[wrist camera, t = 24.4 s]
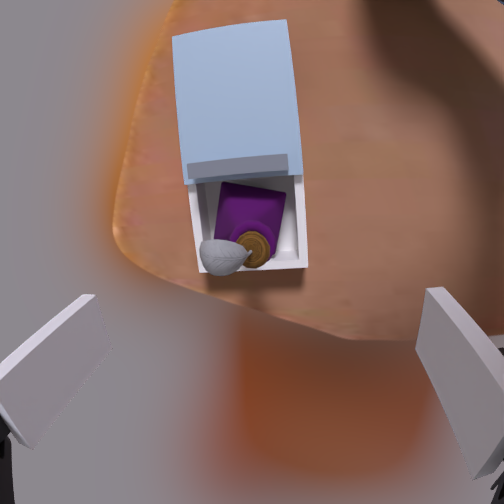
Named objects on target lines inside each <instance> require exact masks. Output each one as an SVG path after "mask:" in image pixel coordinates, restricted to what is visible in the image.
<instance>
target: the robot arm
mask: <svg viewBox="0 0 504 504" xmlns="http://www.w3.org/2000/svg"><path fill="white" fill-rule="evenodd" d="M497 1H499V2H500V3H501V4H503V5H504V0H497ZM111 350H112V346H111V343H110V340H109V337H108V333H107V330H106V327H105V324H104V320H103V317H102V314H101V311H100V307H99V303H98V300H97V296H96V295H88V294H83V295H82V296H80V297H79V298H78V299H76V300H75V301H74V302H73V303H71V304H70V305H69V306H68V307H66V308H65V309H64V310H63V311H61V312H60V313H59V314H58V315H56V316H55V317H54V318H53V319H51V320H50V321H49V322H48V323H47V324H46V325H44V326H43V327H42V328H41V329H39V331H37V332H36V333H35V334H33V335H32V336H31V337H30V338H29V339H28V340H26V341H25V342H24V343H23V344H22V345H21V346H19V347H18V348H17V349H16V350H15V351H14V352H13V353H11V354H10V355H9V356H8V357H7V358H6V359H5V360H4V361H2V362H1V363H0V504H15V502H14V491H13V478H12V459H11V458H12V457H11V456H12V455H11V441H10V439H9V438H8V436H7V435H8V434H9V433H10V432H11V433H12V434H13V435H14V437H15V438H16V439H17V441H18V442H19V443H20V444H22V445H24V446H26V447H28V448H30V449H32V450H33V449H34V448H35V446H36V445H37V444H38V442H39V441H40V440H41V438H42V437H43V436H44V434H45V433H46V432H47V430H48V429H49V428H50V427H51V425H52V424H53V423H54V421H55V420H56V419H57V417H58V416H59V415H60V414H61V412H62V411H63V410H64V408H65V407H66V406H67V405H68V403H69V402H70V400H72V398H73V397H74V396H75V394H76V393H77V392H78V391H79V389H80V388H81V387H82V386H83V384H84V383H85V382H86V381H87V379H88V378H89V377H90V376H91V375H92V373H93V372H94V371H95V370H96V368H97V367H98V366H99V365H100V364H101V362H102V361H103V360H104V359H105V357H106V356H107V355H108V354H109V353H110V351H111ZM415 350H416V352H417V354H418V356H419V358H420V360H421V362H422V364H423V366H424V368H425V370H426V372H427V374H428V376H429V378H430V380H431V383H432V385H433V387H434V389H435V391H436V393H437V395H438V397H439V400H440V402H441V404H442V406H443V408H444V411H445V413H446V415H447V418H448V420H449V422H450V424H451V427H452V429H453V432H454V434H455V437H456V439H457V441H458V444H459V446H460V449H461V451H462V454H463V457H464V459H465V462H466V464H467V467H468V470H469V473H470V475H471V478H472V480H474V479H477V478H480V477H483V476H485V475H488V474H491V473H493V472H494V471H495V470H496V469H497V467H498V466H499V465H500V463H501V462H502V461H504V348H498V349H497V347H496V346H495V345H494V344H493V342H492V341H491V340H490V339H489V338H488V336H487V335H486V334H485V333H484V332H483V331H482V329H481V328H480V327H479V326H478V325H477V324H476V322H475V321H474V320H473V319H472V318H471V317H470V316H469V314H468V313H467V312H466V311H465V310H464V309H463V308H462V307H461V305H460V304H459V303H458V302H457V301H456V300H455V299H454V298H453V297H452V296H451V295H450V294H449V292H448V291H447V290H446V289H445V288H444V287H434V288H426V292H425V298H424V305H423V311H422V317H421V322H420V328H419V333H418V338H417V343H416V347H415ZM497 485H498V487H497V490H496V492H495V495H494V498H493V500H492V502H491V504H504V472H503V473H502V474H501V475H500V477H499V478H498V479H497V480H496V481H495V483H494V484H493V485H492V487H491V490H493V489H494V488H495V487H496V486H497Z"/></svg>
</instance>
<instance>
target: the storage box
mask: <svg viewBox="0 0 504 504" xmlns="http://www.w3.org/2000/svg"><path fill="white" fill-rule="evenodd" d="M222 182H229V183H235V184H241V185H247V186H253V187H259V188H264V189H270V190H276V191H281V192H285V193H286V200H285V206H284V211H283V216H282V222H281V227H280V232H279V238H278V243H277V248H276V253H275V255H272V257H271V258H270V260H269V261H268V262H266V263H265V264H264V265H263V266H261V267H259V268H257V269H253V268H246V267H245V266H243V265H242V266H241V267H240V269H239V270H237V271H250V270H270V269H289V268H307V267H308V253H307V231H306V213H305V197H304V182H303V174H302V175H286V176H272V177H259V178H247V179H236V180H225V181H215V182H206V183H197V184H188V193H189V201H190V209H191V217H192V224H193V231H194V239H195V246H196V253H197V259H198V266H199V273H205V272H207V271H206V270H205V268H204V267H203V265H202V262H201V258H200V253H199V248H200V244H201V241H205V240H210V239H214V231H215V224H216V217H217V209H218V202H219V195H220V188H221V183H222Z"/></svg>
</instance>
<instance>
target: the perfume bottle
mask: <svg viewBox="0 0 504 504" xmlns="http://www.w3.org/2000/svg"><path fill="white" fill-rule="evenodd" d="M285 200H286V193H285V192H281V191H276V190H270V189H264V188H259V187H253V186H247V185H241V184H235V183H229V182H222V183H221V188H220V195H219V202H218V209H217V217H216V224H215V231H214V239H210V240H205V241H201V244H200V248H199V253H200V258H201V262H202V265H203V267H204V268H205V270H206V271H207V272H209V273H210V274H212V275H216V276H225V275H230V274H231V273H233V272H235V271H237V270H239V269H240V267H241V266H242V265H243V266H245V267H246V268H253V269H257V268H259V267H261V266H263V265H264V264H265V263H266V262H268V261H269V260H270V258H271V257H272V255H275V253H276V248H277V243H278V238H279V232H280V227H281V222H282V216H283V211H284V206H285Z"/></svg>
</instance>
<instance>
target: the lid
mask: <svg viewBox="0 0 504 504" xmlns="http://www.w3.org/2000/svg"><path fill="white" fill-rule="evenodd" d="M172 46H173V64H174V79H175V93H176V106H177V118H178V129H179V139H180V149H181V159H182V168H183V177H184V185H188V184H197V183H206V182H215V181H225V180H236V179H247V178H259V177H272V176H286V175H302V174H303V163H302V150H301V139H300V128H299V118H298V108H297V99H296V90H295V81H294V72H293V64H292V56H291V49H290V41H289V34H288V27H287V21H286V20H273V21H262V22H252V23H244V24H237V25H230V26H223V27H217V28H211V29H206V30H201V31H196V32H191V33H186V34H182V35H177V36H173V37H172Z"/></svg>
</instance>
